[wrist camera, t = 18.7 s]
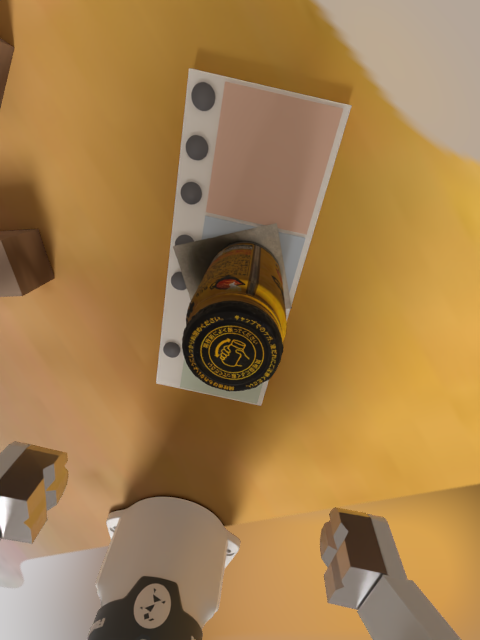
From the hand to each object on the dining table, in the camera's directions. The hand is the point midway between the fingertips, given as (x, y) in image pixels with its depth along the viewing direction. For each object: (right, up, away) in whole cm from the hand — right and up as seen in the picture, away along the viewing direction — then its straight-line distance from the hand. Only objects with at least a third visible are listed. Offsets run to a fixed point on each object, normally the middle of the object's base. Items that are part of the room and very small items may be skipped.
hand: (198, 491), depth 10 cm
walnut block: (-18, +11, +20) cm, 29 cm away
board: (+1, +10, +19) cm, 21 cm away
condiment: (+1, +9, +18) cm, 20 cm away
